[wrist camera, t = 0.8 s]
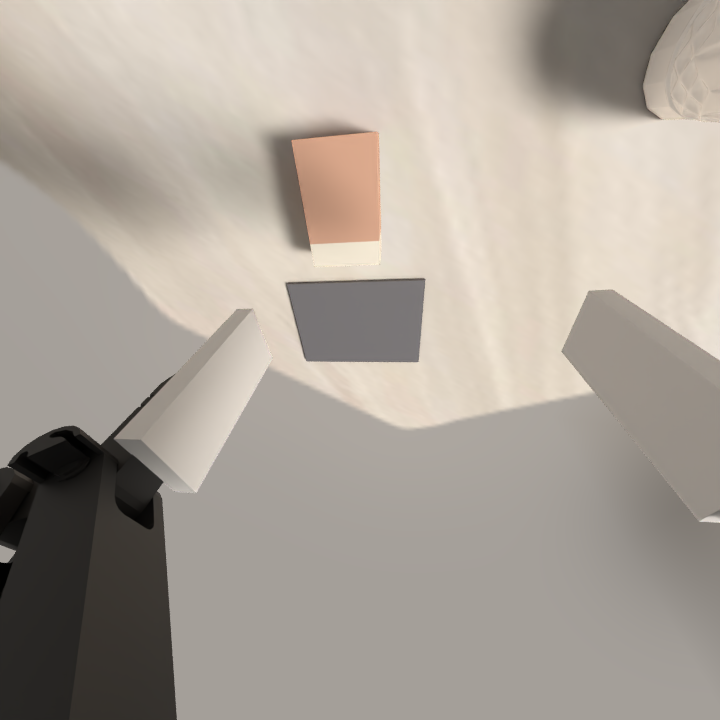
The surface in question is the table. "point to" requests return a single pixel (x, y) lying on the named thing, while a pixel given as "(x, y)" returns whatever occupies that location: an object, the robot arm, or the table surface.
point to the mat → (359, 319)
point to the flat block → (341, 197)
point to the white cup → (687, 65)
